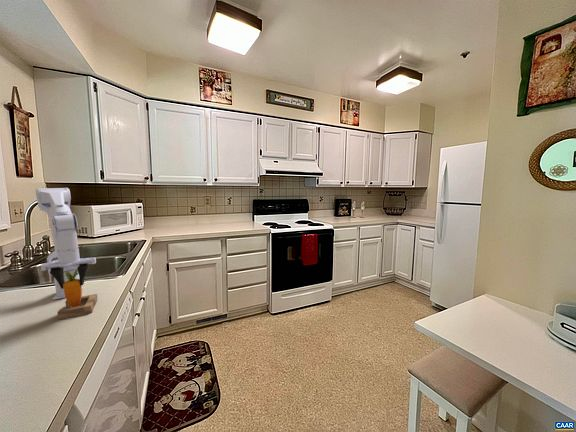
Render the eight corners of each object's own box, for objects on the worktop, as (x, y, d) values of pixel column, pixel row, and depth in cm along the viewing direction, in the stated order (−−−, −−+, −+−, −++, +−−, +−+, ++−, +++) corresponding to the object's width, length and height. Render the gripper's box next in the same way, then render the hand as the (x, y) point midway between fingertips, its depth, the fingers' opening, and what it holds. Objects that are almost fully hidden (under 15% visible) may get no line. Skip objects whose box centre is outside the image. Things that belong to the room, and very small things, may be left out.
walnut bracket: (67, 305, 93) (66, 299, 92) (97, 299, 97) (96, 293, 97) (58, 319, 83) (57, 312, 83) (91, 312, 87) (91, 305, 87)
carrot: (82, 305, 93) (77, 266, 91) (86, 309, 90) (81, 269, 88) (65, 310, 89) (59, 270, 87) (68, 315, 86) (62, 273, 84)
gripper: (34, 255, 79) (41, 295, 81) (91, 248, 86) (95, 285, 88) (43, 249, 86) (48, 287, 87) (95, 244, 93) (99, 279, 94)
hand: (72, 286), depth 88 cm, fingers closed on carrot, 5 cm apart
